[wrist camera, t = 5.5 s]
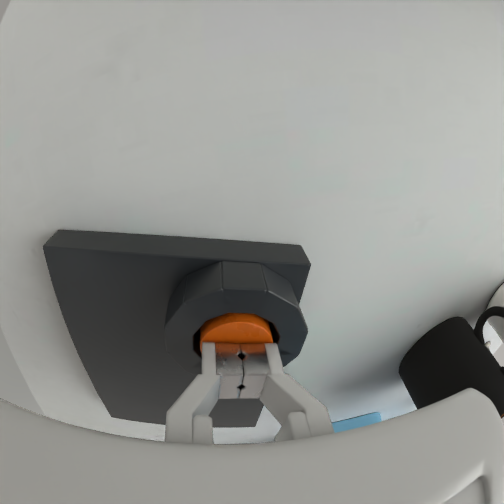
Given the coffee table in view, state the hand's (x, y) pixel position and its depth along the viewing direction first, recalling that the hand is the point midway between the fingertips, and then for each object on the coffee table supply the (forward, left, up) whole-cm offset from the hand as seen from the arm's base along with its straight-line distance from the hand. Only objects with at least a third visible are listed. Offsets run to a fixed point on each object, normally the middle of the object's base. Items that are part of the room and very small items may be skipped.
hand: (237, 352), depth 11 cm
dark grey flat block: (+5, -3, -4) cm, 7 cm away
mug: (+5, +20, -4) cm, 21 cm away
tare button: (0, 0, -2) cm, 2 cm away
